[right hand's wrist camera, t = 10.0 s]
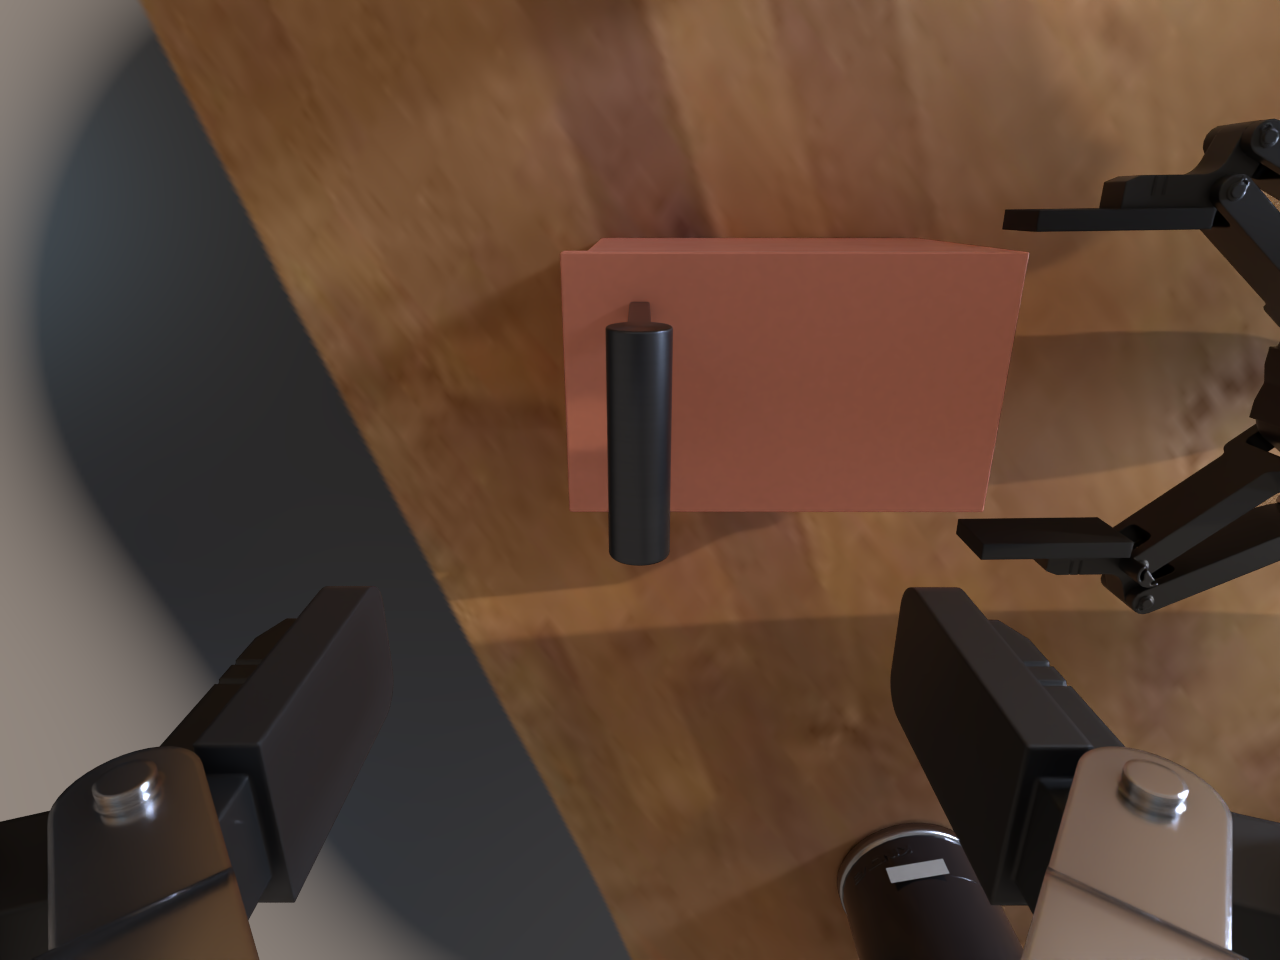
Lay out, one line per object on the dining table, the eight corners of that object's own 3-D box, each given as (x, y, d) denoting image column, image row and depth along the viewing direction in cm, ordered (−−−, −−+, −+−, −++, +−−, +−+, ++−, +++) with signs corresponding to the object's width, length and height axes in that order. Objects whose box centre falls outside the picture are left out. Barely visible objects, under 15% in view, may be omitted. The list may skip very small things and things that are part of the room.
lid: (571, 504, 29) (546, 611, 21) (562, 250, 26) (528, 271, 18) (974, 504, 29) (1094, 612, 21) (1018, 250, 26) (1179, 270, 18)
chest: (604, 431, 38) (592, 503, 29) (600, 238, 35) (586, 250, 26) (893, 431, 38) (974, 503, 29) (918, 237, 35) (1018, 250, 26)
